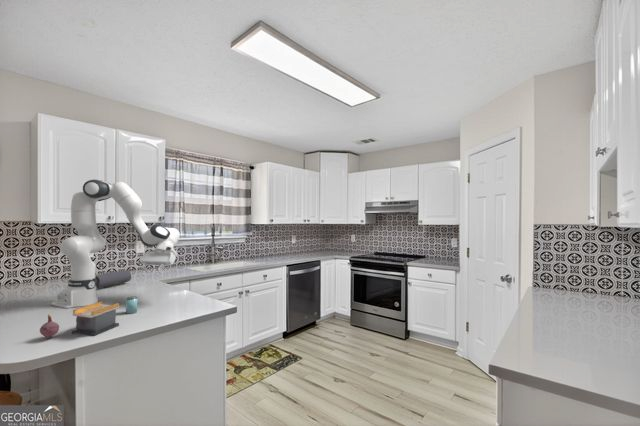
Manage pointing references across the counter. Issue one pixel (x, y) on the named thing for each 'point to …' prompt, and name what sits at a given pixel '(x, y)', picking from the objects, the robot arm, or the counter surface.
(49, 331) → the vegetable
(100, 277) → the bluetooth speaker
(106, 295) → the counter surface
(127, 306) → the teal glass jar
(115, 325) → the block
